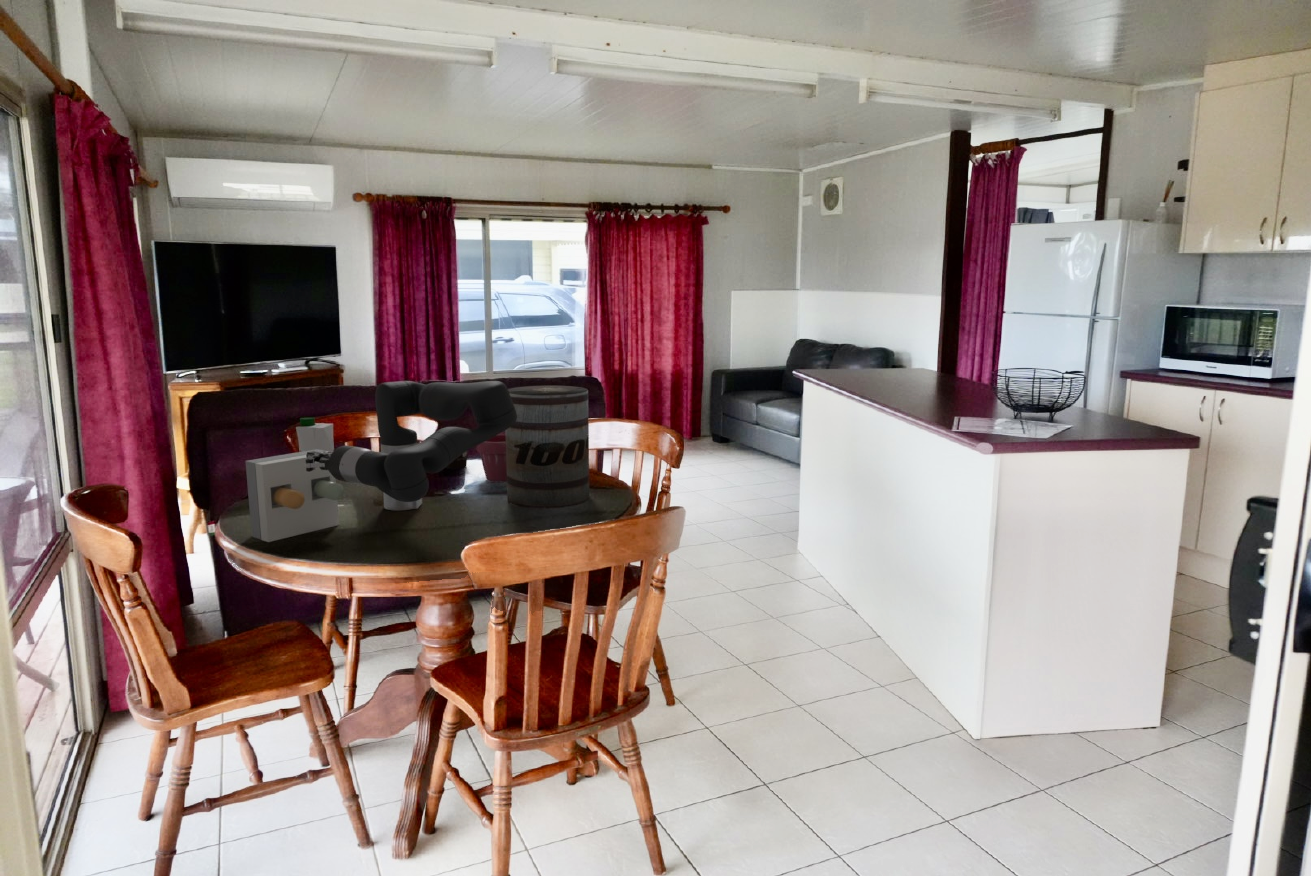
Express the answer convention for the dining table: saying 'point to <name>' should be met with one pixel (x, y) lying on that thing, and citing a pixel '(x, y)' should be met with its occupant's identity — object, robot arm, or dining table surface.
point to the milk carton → (314, 435)
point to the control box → (291, 474)
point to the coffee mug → (459, 462)
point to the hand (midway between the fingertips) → (309, 456)
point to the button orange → (289, 498)
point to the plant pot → (494, 458)
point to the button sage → (329, 490)
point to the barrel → (548, 447)
